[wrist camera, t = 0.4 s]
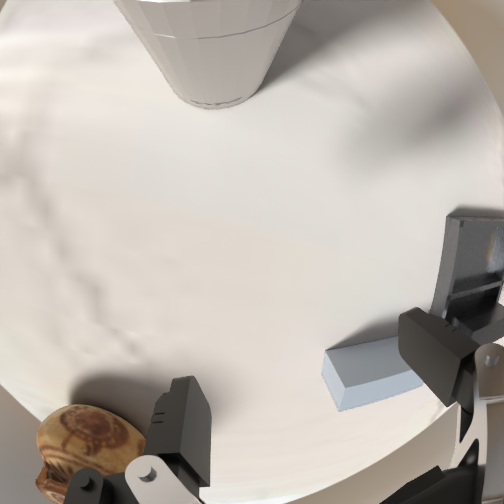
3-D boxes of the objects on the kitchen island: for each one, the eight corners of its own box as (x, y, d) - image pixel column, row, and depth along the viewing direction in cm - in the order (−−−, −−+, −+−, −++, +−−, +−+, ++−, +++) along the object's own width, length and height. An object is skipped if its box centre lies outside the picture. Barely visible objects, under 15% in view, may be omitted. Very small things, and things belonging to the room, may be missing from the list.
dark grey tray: (446, 216, 27) (489, 230, 20) (504, 218, 28) (537, 229, 21) (418, 350, 33) (446, 380, 26) (479, 327, 34) (504, 347, 27)
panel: (324, 349, 31) (345, 388, 24) (404, 333, 32) (432, 362, 25) (321, 373, 32) (338, 411, 25) (397, 356, 33) (422, 385, 26)
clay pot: (123, 391, 26) (127, 545, 11) (171, 429, 38) (180, 529, 23) (21, 381, 25) (10, 498, 10) (83, 423, 37) (82, 511, 22)
